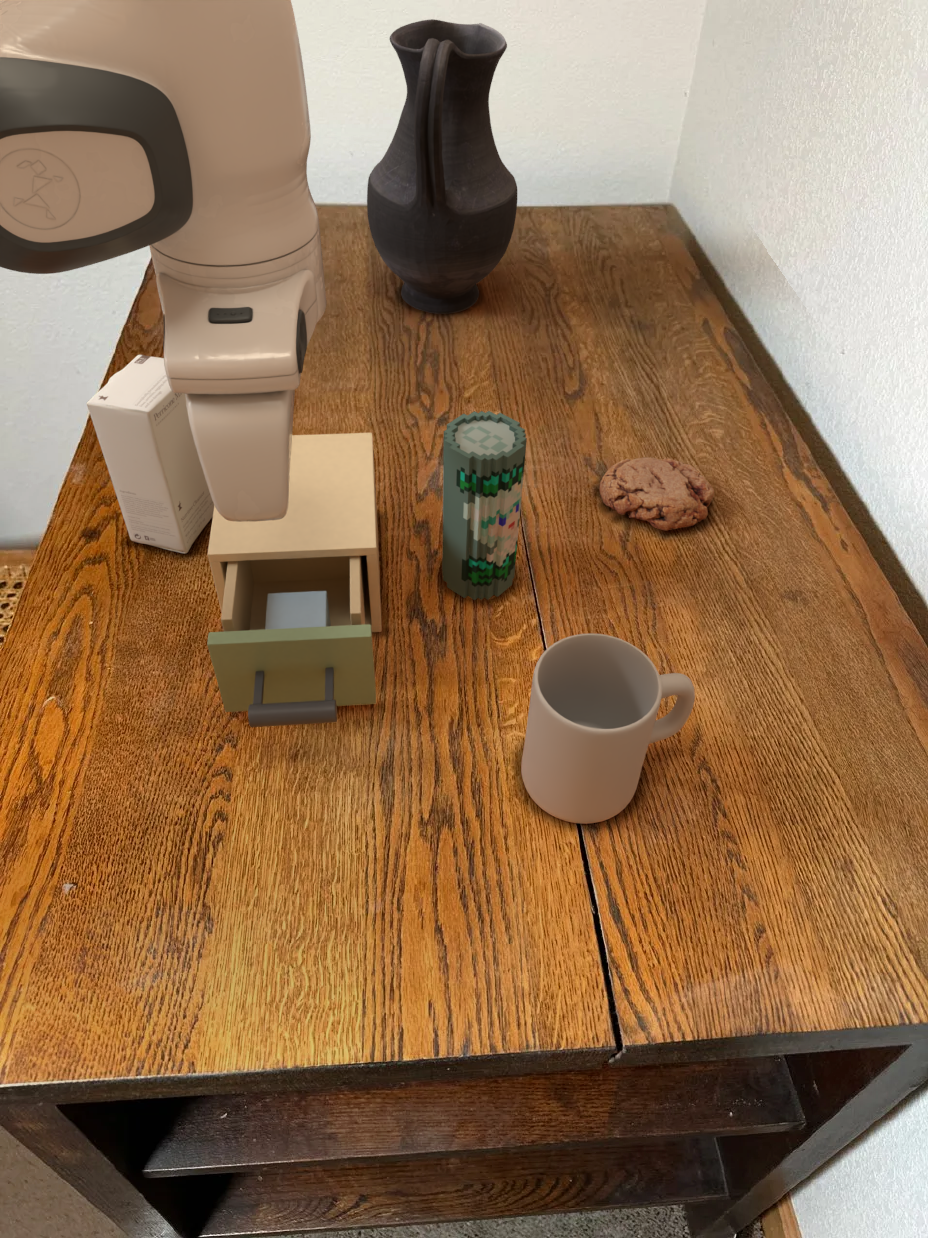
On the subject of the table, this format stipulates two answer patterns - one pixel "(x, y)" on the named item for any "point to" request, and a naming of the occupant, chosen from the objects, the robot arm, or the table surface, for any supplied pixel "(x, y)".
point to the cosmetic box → (152, 456)
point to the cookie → (657, 492)
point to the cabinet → (314, 515)
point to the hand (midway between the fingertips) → (274, 480)
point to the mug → (595, 725)
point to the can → (481, 502)
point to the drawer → (293, 643)
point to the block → (297, 610)
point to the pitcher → (443, 169)
